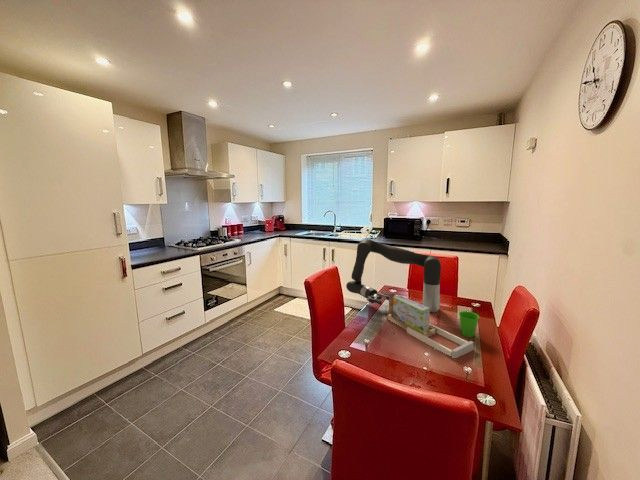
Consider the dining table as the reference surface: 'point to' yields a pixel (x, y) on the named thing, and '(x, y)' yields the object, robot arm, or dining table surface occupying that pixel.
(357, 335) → the dining table surface
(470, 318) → the cup
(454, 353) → the frame
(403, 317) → the snack box
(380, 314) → the dining table surface
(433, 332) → the pull frame
